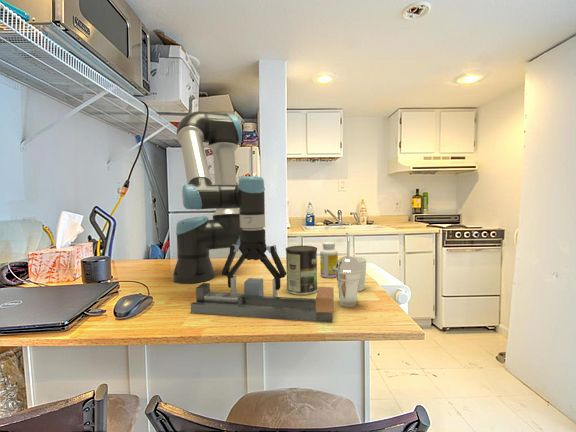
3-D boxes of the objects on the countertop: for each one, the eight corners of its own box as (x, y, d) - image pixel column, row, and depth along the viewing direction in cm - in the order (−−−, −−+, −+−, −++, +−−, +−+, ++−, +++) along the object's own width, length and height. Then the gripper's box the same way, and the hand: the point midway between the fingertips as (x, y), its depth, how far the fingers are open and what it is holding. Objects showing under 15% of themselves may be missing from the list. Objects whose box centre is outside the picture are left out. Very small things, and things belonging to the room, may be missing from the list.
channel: (190, 313, 81) (190, 291, 80) (206, 301, 89) (205, 281, 89) (332, 322, 73) (332, 298, 73) (333, 308, 82) (333, 287, 82)
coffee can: (318, 285, 103) (318, 245, 101) (315, 296, 92) (315, 251, 91) (289, 284, 105) (289, 244, 103) (283, 294, 95) (282, 250, 93)
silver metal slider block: (196, 308, 83) (195, 287, 82) (204, 303, 87) (203, 283, 87) (237, 311, 80) (236, 289, 80) (243, 305, 85) (242, 284, 84)
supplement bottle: (340, 275, 116) (340, 242, 115) (333, 279, 110) (333, 245, 109) (324, 272, 119) (324, 241, 118) (317, 276, 114) (317, 243, 113)
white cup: (361, 293, 94) (361, 262, 93) (338, 289, 98) (338, 260, 97) (369, 287, 100) (369, 257, 100) (347, 283, 105) (346, 255, 104)
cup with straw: (327, 305, 85) (327, 235, 83) (341, 296, 92) (340, 232, 90) (356, 311, 80) (356, 238, 78) (367, 301, 87) (368, 233, 86)
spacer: (244, 302, 88) (244, 282, 88) (249, 296, 93) (248, 277, 92) (259, 302, 88) (258, 283, 87) (263, 297, 92) (263, 278, 92)
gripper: (208, 229, 87) (211, 301, 89) (290, 230, 83) (291, 305, 84) (219, 227, 95) (221, 292, 96) (295, 227, 90) (296, 296, 91)
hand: (254, 299), depth 90 cm, fingers open, 12 cm apart
